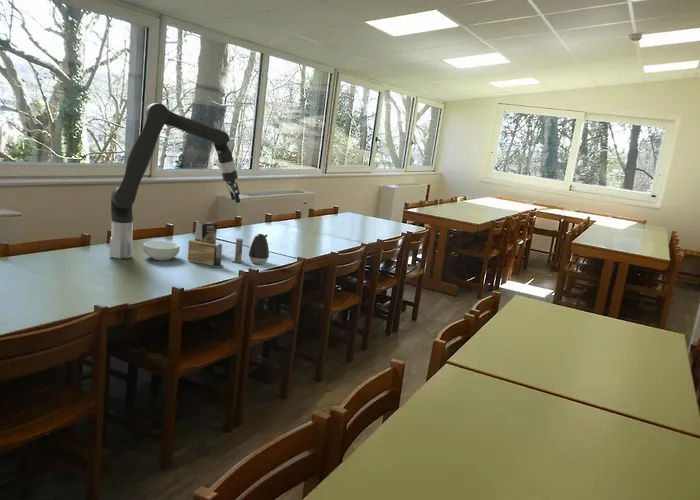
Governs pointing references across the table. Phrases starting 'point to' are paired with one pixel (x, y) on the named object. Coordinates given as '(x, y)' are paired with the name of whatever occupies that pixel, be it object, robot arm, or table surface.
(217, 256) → the hinge post
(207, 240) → the coffee box
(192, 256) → the gate
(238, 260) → the post
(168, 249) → the cereal bowl
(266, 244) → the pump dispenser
